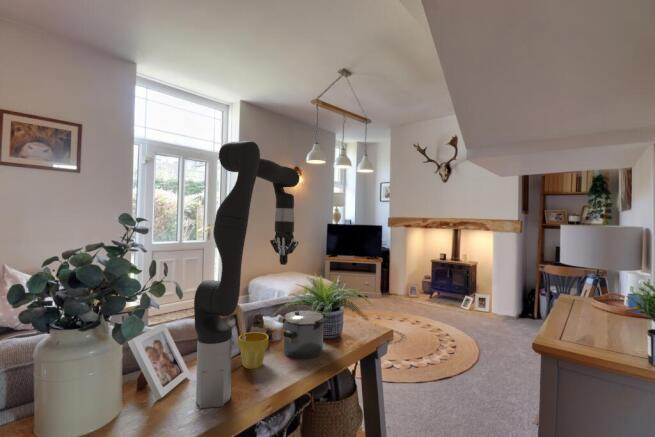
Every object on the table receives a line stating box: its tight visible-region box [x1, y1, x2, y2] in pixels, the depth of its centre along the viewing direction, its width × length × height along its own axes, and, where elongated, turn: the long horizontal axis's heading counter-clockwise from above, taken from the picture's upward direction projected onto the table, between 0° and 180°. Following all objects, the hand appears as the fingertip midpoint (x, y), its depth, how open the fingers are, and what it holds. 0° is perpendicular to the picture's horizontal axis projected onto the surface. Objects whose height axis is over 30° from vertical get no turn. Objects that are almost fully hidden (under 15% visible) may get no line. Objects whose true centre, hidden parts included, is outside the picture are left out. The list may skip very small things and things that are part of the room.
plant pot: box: [237, 331, 270, 370], centre depth 120 cm, size 10×10×10 cm
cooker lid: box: [284, 310, 329, 325], centre depth 132 cm, size 17×15×2 cm
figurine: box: [249, 312, 267, 334], centre depth 141 cm, size 7×7×12 cm
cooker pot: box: [277, 316, 324, 360], centre depth 133 cm, size 17×20×12 cm
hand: (283, 264), depth 135 cm, fingers closed
